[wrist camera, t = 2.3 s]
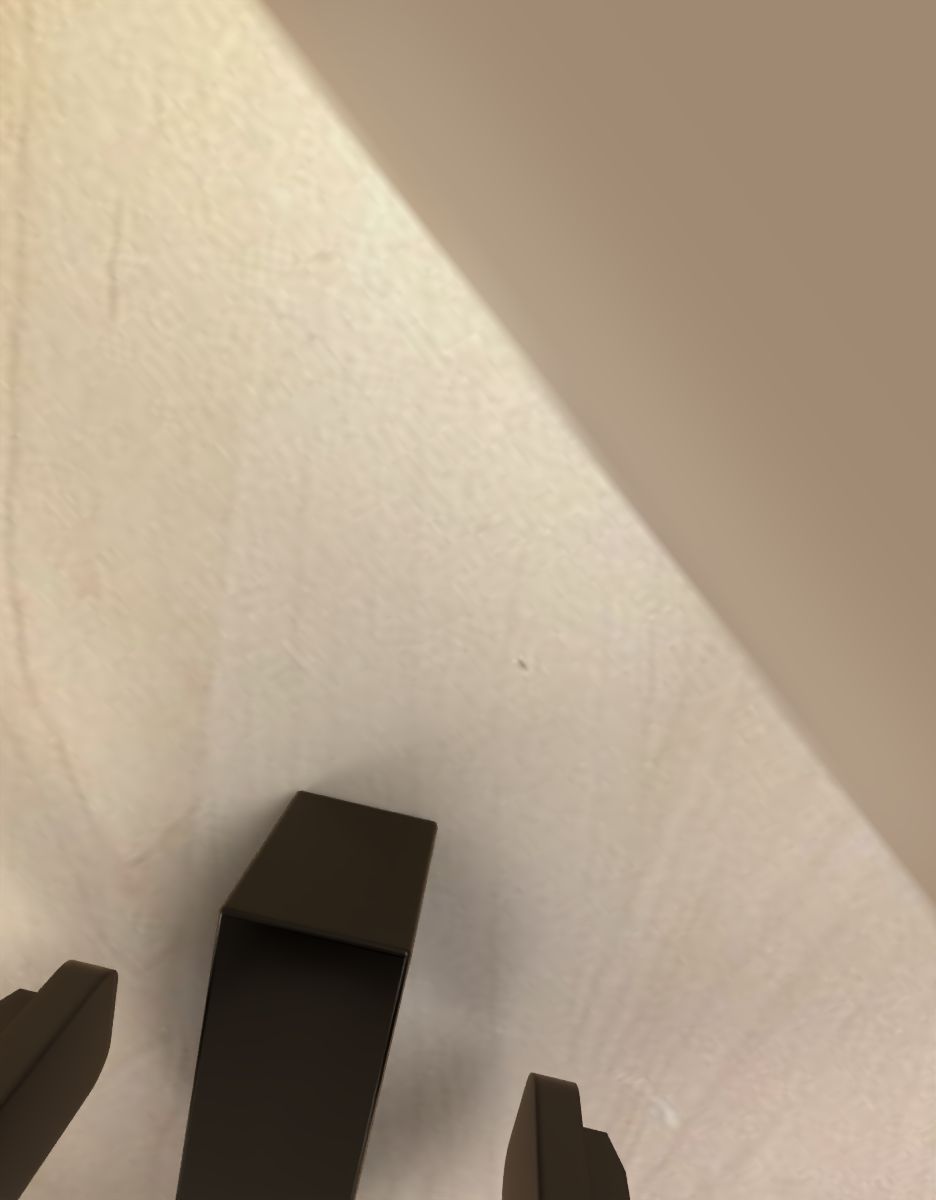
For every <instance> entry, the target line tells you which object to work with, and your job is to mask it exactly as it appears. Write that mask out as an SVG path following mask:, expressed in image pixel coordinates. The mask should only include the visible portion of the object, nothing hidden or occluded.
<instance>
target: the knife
mask: <svg viewBox="0 0 936 1200" xmlns="http://www.w3.org/2000/svg"><path fill="white" fill-rule="evenodd" d="M437 829H438V828H437V823H435V822H434V821H430V820H426V819H421V818H417V817H413V816H409V815H404V814H400V813H396V812H391V811H387V810H383V809H379V808H374V807H370V806H366V805H361V804H357V803H353V802H349V801H344V800H340V799H336V798H332V797H327V796H323V795H319V794H314V793H310V792H306V791H298V792H297V793H296V794H295V796H294V797H293V799H292V800H291V802H290V804H289V805H288V807H287V808H286V810H285V811H284V813H283V814H282V816H281V817H280V819H279V820H278V822H277V823H276V825H275V826H274V828H273V829H272V831H271V832H270V834H269V836H268V837H267V839H266V840H265V842H264V843H263V845H262V846H261V848H260V849H259V851H258V852H257V854H256V855H255V857H254V858H253V860H252V861H251V863H250V864H249V866H248V868H247V869H246V871H245V872H244V874H243V875H242V877H241V878H240V880H239V881H238V883H237V884H236V886H235V887H234V889H233V890H232V892H231V893H230V895H229V896H228V898H227V900H226V901H225V903H224V904H223V906H222V907H221V909H220V912H219V919H218V925H217V932H216V938H215V945H214V951H213V958H212V964H211V971H210V977H209V984H208V990H207V997H206V1003H205V1010H204V1016H203V1023H202V1030H201V1036H200V1043H199V1049H198V1056H197V1062H196V1069H195V1075H194V1082H193V1088H192V1095H191V1101H190V1108H189V1114H188V1121H187V1127H186V1134H185V1140H184V1147H183V1154H182V1160H181V1167H180V1173H179V1180H178V1186H177V1193H176V1199H175V1200H355V1199H356V1194H357V1190H358V1186H359V1181H360V1177H361V1173H362V1168H363V1164H364V1160H365V1155H366V1151H367V1147H368V1142H369V1138H370V1134H371V1129H372V1125H373V1121H374V1116H375V1112H376V1108H377V1103H378V1099H379V1095H380V1090H381V1086H382V1082H383V1077H384V1073H385V1069H386V1064H387V1060H388V1056H389V1051H390V1047H391V1043H392V1038H393V1034H394V1030H395V1025H396V1021H397V1017H398V1012H399V1008H400V1004H401V999H402V995H403V991H404V987H405V982H406V978H407V974H408V969H409V965H410V961H411V956H412V951H413V947H414V942H415V937H416V932H417V927H418V922H419V917H420V912H421V907H422V902H423V898H424V893H425V888H426V883H427V878H428V873H429V868H430V863H431V858H432V853H433V849H434V844H435V839H436V834H437Z"/></svg>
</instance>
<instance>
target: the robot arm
mask: <svg viewBox="0 0 936 1200" xmlns="http://www.w3.org/2000/svg"><path fill="white" fill-rule="evenodd" d="M117 984H118V973H117V971H116V970H112V969H108V968H104V967H100V966H96V965H92V964H88V963H83V962H79V961H75V960H69V961H67V962H65V963H64V964H63V965H62V966H61V967H60V968H59V969H58V970H57V971H56V972H55V973H54V974H53V976H52V977H51V978H50V979H49V980H48V981H47V982H46V983H45V984H44V985H43V987H42V988H41V989H40V990H39V991H38V992H33V991H29V990H24V989H18V990H17V991H15V992H13V993H12V994H10V995H8V996H7V997H5V998H4V999H2V1000H0V1200H18V1199H19V1197H20V1196H21V1194H22V1193H23V1191H24V1190H25V1189H26V1187H27V1186H28V1184H29V1183H30V1181H31V1180H32V1178H33V1177H34V1175H35V1174H36V1172H37V1171H38V1169H39V1168H40V1166H41V1165H42V1163H43V1162H44V1160H45V1159H46V1157H47V1156H48V1154H49V1153H50V1151H51V1150H52V1148H53V1147H54V1145H55V1144H56V1142H57V1141H58V1139H59V1138H60V1137H61V1135H62V1134H63V1132H64V1131H65V1129H66V1128H67V1126H68V1125H69V1123H70V1122H71V1120H72V1119H73V1117H74V1116H75V1114H76V1113H77V1111H78V1110H79V1108H80V1107H81V1105H82V1104H83V1102H84V1101H85V1099H86V1098H87V1096H88V1095H89V1093H90V1092H91V1090H92V1089H93V1087H94V1085H95V1083H96V1081H97V1079H98V1077H99V1075H100V1073H101V1071H102V1069H103V1066H104V1064H105V1061H106V1058H107V1055H108V1052H109V1048H110V1043H111V1035H112V1026H113V1018H114V1009H115V1001H116V992H117ZM502 1200H630V1196H629V1190H628V1183H627V1177H626V1171H625V1169H624V1167H623V1165H622V1163H621V1161H620V1159H619V1157H618V1155H617V1153H616V1151H615V1149H614V1147H613V1145H612V1143H611V1141H610V1139H609V1137H608V1134H607V1133H606V1132H601V1131H597V1130H593V1129H589V1128H585V1127H583V1123H582V1114H581V1104H580V1095H579V1090H578V1086H577V1084H576V1083H573V1082H569V1081H565V1080H561V1079H557V1078H553V1077H549V1076H544V1075H540V1074H536V1073H532V1072H531V1073H530V1074H529V1076H528V1079H527V1082H526V1086H525V1089H524V1092H523V1096H522V1099H521V1103H520V1106H519V1110H518V1113H517V1117H516V1120H515V1124H514V1127H513V1130H512V1134H511V1137H510V1141H509V1145H508V1149H507V1154H506V1160H505V1167H504V1176H503V1188H502Z"/></svg>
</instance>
